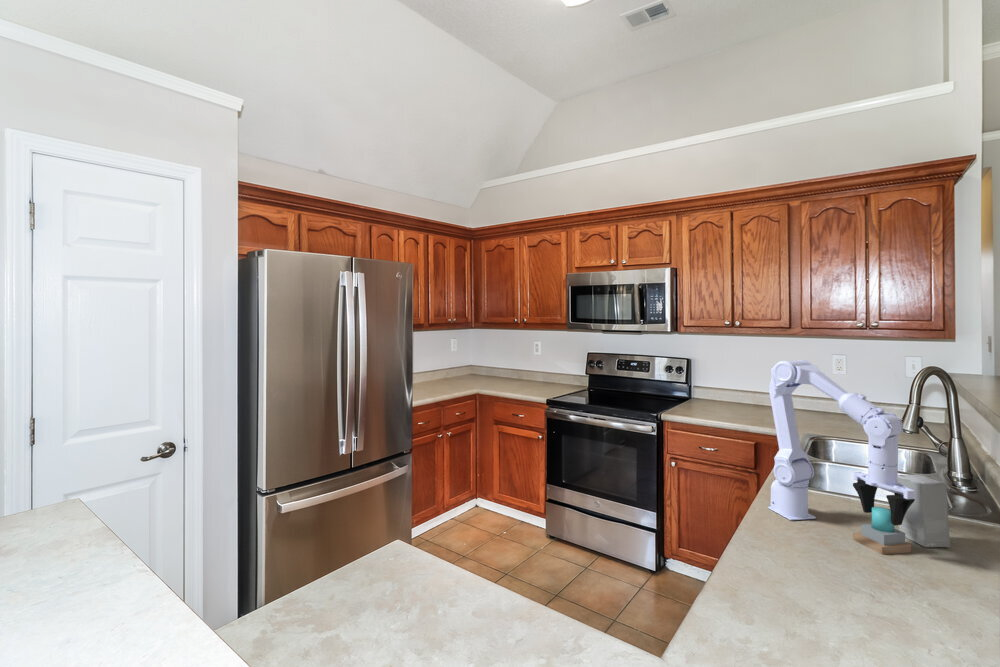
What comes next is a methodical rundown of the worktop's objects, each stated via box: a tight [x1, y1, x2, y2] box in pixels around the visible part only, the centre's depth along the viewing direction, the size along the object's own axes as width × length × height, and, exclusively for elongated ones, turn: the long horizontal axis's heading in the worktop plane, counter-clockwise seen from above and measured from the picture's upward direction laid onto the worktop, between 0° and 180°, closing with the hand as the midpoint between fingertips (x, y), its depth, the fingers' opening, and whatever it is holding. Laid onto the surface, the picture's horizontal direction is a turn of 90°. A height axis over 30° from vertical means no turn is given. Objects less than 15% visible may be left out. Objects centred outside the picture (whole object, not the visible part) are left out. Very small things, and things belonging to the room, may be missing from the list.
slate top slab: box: [860, 523, 906, 545], centre depth 121 cm, size 6×6×2 cm
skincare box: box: [898, 474, 951, 548], centre depth 124 cm, size 8×7×16 cm
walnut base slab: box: [852, 531, 912, 556], centre depth 121 cm, size 8×8×2 cm
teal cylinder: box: [871, 506, 895, 532], centre depth 121 cm, size 4×4×4 cm
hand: (882, 518), depth 121 cm, fingers open, 7 cm apart
